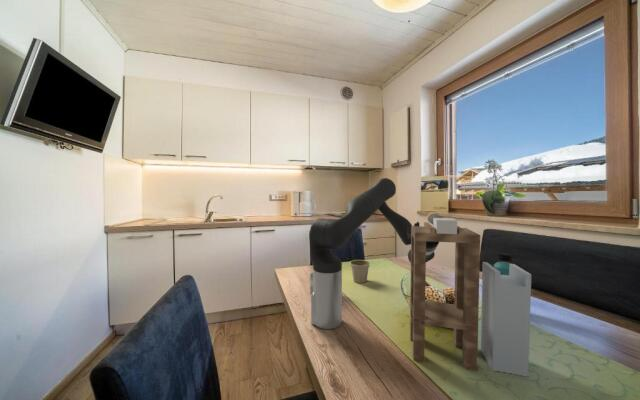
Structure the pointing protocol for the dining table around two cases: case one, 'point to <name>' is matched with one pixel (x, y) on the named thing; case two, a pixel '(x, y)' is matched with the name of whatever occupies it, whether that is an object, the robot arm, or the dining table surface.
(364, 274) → the flower pot
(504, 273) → the beverage bottle
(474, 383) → the dining table surface
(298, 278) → the dining table surface
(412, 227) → the walnut stand
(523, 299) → the box
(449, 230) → the light grey bar
